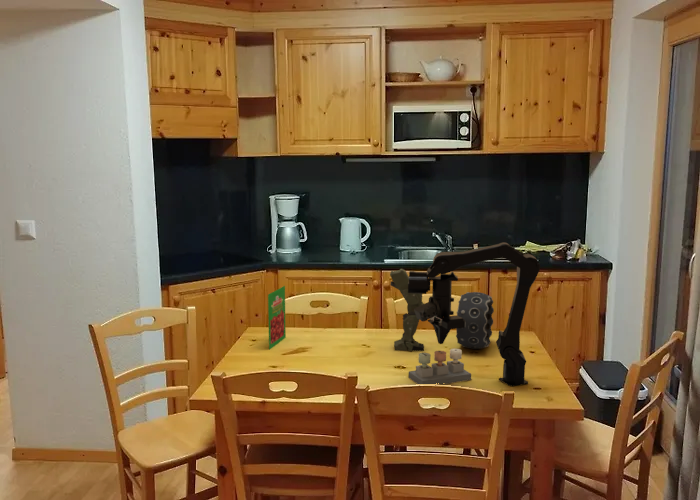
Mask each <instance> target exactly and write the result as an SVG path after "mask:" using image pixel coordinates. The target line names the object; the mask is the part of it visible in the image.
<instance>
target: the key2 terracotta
mask: <svg viewBox="0 0 700 500" xmlns="http://www.w3.org/2000/svg"><path fill="white" fill-rule="evenodd" d="M433 355H434V357H433V358H434V359H433V360H434V361H435V362H437V363H438V366H442V362H443V363H445V362H447V352H446V351H445V350H435V351H434V353H433Z"/></svg>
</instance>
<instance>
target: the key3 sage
mask: <svg viewBox="0 0 700 500" xmlns="http://www.w3.org/2000/svg"><path fill="white" fill-rule="evenodd" d="M418 363H419V364H420V365H422V368H423V369H424V368H427V365H429V364H430V363H431V354H430V353H428V352H419V353H418Z"/></svg>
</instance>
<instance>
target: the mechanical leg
mask: <svg viewBox="0 0 700 500" xmlns="http://www.w3.org/2000/svg"><path fill="white" fill-rule="evenodd" d="M389 276H390V278H391V279H392V281H390V286H391V287H392V288H394V289H396V290H398V291H399V292H400V294H401V295H402V297H403V299H404V301H405V302H406V303H407V306H406V309H407V313H404V314H403V315H402V329H403V332H402V337H400V339H397V340H394V342H393V349H394V351H400V352H401V351H405V352H408V351H409V352H425V346H424V343H421V342H419V341H416V340H415V338H414V336H415V334H416V332H417V329H418V327H419V322H420V320H419V319H417V317H416V314H415V311H414V309H415V308H417V307H419V306H421V305H423V304H425V303H424V302H423V294H413V293H408V282H409V273H407V271H406V270H405V269H404V268H400V269H399V270H391V271H390V272H389Z"/></svg>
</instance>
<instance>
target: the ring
mask: <svg viewBox="0 0 700 500" xmlns="http://www.w3.org/2000/svg"><path fill="white" fill-rule="evenodd" d="M493 303H494V300H493V297H492V296H490V295H489V294H486V293H484V292H480V291H479V292H478V291H473V292H469V291H468V292H466V293H464V294H461V295H460V298H459V300H458V305H457V311H456V316H459V317H461V318H463V319H464V320H465V321H466V324H465V328H458V329H455V330H456V334H455V337H456V340H457V344H459V345H461V346H462V347H463V348H468V349H473V350H480V349H485V348H487V347H490V344H491V339H490V338H491V337H492V335H493V331H492V328H491V327H492V326H493V324H494V319H493V317H492V315H493V313H494V310H495V309H494V307H493Z"/></svg>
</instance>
